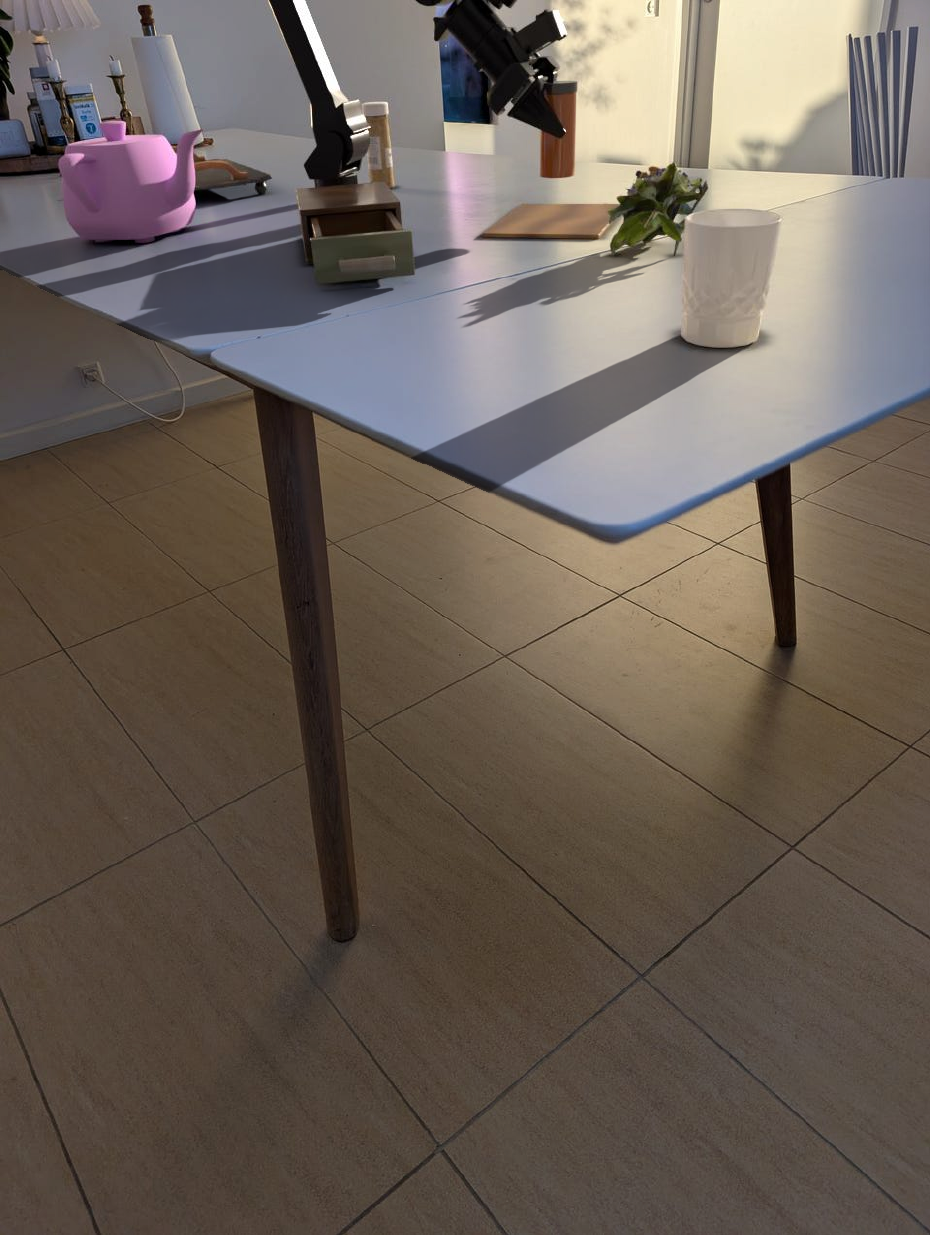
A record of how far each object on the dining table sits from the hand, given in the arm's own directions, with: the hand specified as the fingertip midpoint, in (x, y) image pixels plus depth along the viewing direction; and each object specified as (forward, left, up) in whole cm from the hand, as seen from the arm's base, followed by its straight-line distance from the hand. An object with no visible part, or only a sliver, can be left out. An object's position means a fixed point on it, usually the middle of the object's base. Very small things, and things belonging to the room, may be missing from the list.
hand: (567, 133), depth 120 cm
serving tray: (-83, -4, -11) cm, 84 cm away
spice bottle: (-1, -1, -5) cm, 5 cm away
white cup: (+42, -38, -11) cm, 58 cm away
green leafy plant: (+20, -10, -11) cm, 25 cm away
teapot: (-53, -35, -11) cm, 64 cm away
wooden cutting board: (-1, 0, -11) cm, 11 cm away
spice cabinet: (-17, -26, -11) cm, 33 cm away
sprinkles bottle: (-48, +12, -11) cm, 50 cm away
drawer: (-4, -37, -10) cm, 39 cm away
